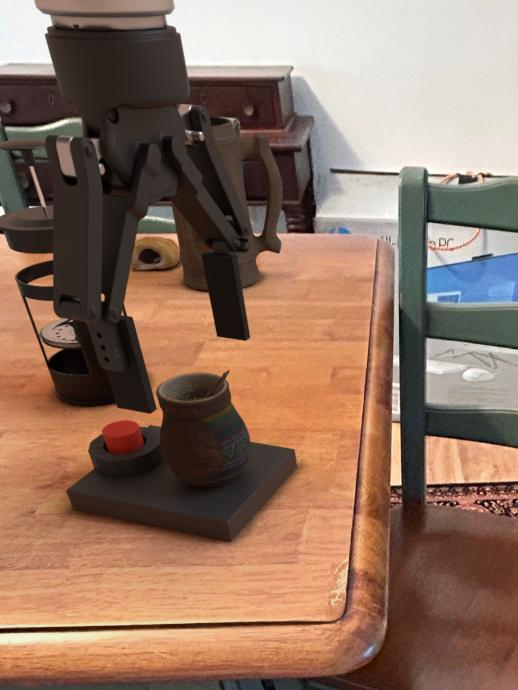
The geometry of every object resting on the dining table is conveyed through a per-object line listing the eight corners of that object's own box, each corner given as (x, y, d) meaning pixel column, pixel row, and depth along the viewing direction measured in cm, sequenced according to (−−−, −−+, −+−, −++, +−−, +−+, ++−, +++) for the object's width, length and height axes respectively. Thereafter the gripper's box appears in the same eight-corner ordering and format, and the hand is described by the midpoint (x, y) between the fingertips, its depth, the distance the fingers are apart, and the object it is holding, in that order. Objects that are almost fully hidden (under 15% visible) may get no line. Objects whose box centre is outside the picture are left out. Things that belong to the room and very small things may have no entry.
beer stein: (185, 296, 101) (159, 124, 88) (173, 272, 108) (147, 111, 96) (295, 289, 106) (285, 127, 94) (276, 268, 114) (265, 114, 101)
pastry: (145, 252, 116) (139, 226, 113) (189, 252, 116) (183, 226, 114) (129, 271, 109) (122, 243, 106) (175, 271, 109) (170, 244, 107)
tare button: (100, 452, 63) (94, 433, 62) (121, 435, 65) (116, 417, 64) (130, 457, 62) (124, 438, 61) (151, 440, 64) (146, 422, 63)
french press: (49, 376, 81) (-40, 134, 66) (137, 360, 85) (71, 126, 70) (63, 421, 74) (-35, 157, 58) (159, 401, 77) (90, 148, 62)
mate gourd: (197, 447, 66) (170, 337, 60) (274, 459, 65) (255, 348, 58) (152, 489, 61) (117, 374, 54) (234, 503, 59) (209, 387, 53)
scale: (63, 507, 62) (48, 471, 60) (146, 441, 71) (136, 407, 68) (231, 541, 59) (223, 504, 56) (297, 467, 67) (292, 432, 65)
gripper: (10, 41, 33) (135, 456, 47) (269, 12, 51) (303, 319, 65) (-123, 33, 34) (36, 437, 49) (174, 8, 52) (227, 308, 67)
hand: (189, 370), depth 57 cm, fingers open, 13 cm apart
